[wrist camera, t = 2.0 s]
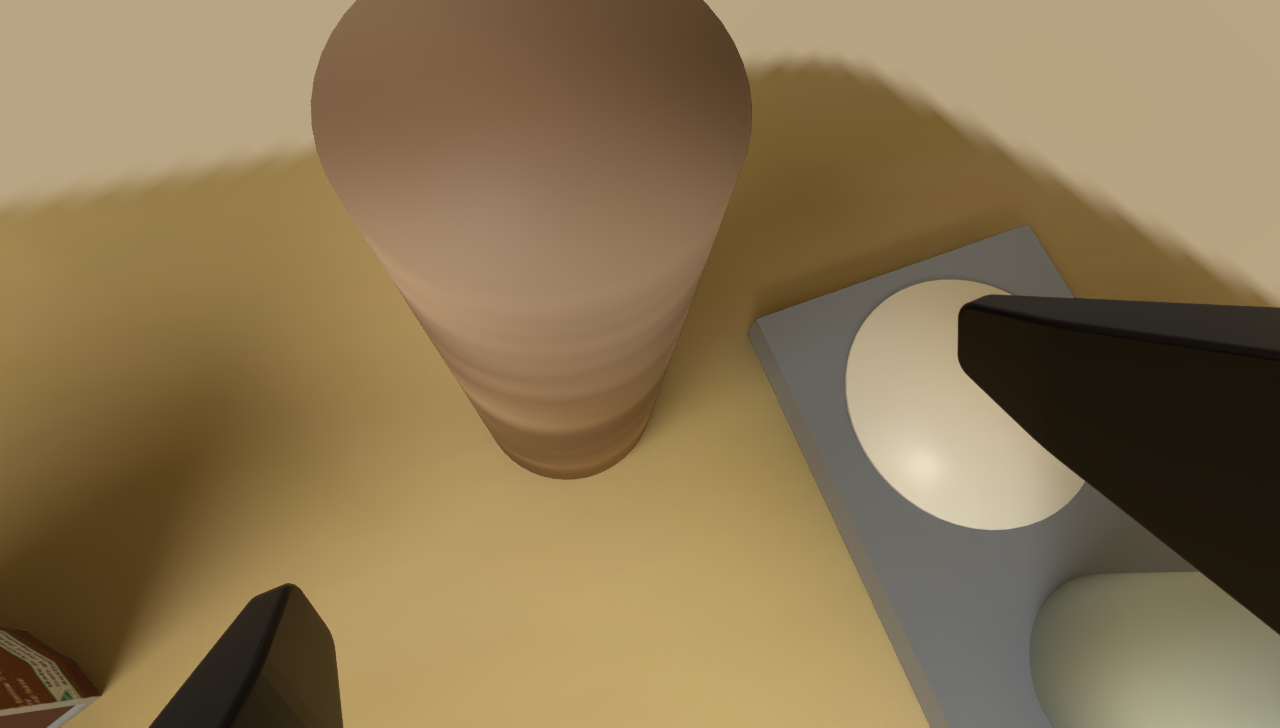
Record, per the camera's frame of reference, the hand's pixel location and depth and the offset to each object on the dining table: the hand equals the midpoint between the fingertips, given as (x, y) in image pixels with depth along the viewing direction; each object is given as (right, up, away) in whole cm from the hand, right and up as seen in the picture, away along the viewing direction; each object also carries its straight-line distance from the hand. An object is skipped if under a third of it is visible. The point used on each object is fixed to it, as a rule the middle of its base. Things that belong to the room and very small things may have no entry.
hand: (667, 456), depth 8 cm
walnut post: (-3, 0, +12) cm, 12 cm away
